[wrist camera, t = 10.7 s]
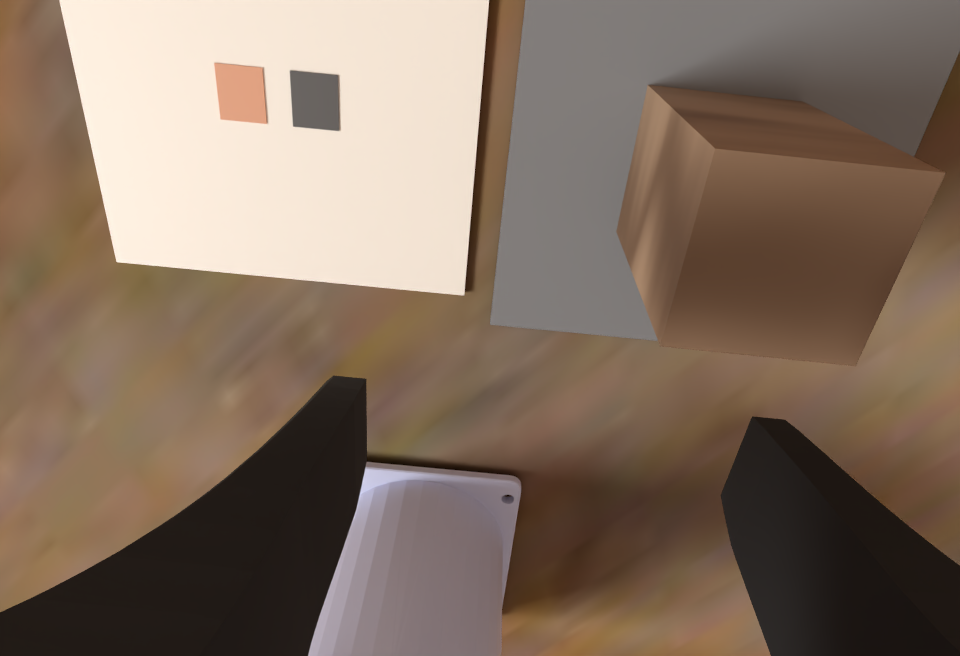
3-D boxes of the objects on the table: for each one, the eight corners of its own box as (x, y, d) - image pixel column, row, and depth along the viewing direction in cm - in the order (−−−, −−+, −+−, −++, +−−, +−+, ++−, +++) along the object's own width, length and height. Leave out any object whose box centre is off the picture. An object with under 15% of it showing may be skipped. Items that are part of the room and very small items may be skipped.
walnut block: (754, 246, 21) (855, 366, 15) (616, 231, 21) (660, 346, 15) (802, 101, 18) (945, 173, 12) (647, 84, 18) (715, 148, 12)
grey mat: (824, 352, 23) (827, 357, 23) (490, 320, 23) (490, 324, 23) (986, -31, 17) (994, -30, 17) (533, -77, 17) (534, -77, 16)
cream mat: (464, 292, 22) (464, 295, 22) (119, 259, 22) (116, 262, 22) (500, -127, 16) (499, -128, 16) (26, -176, 16) (19, -177, 16)
